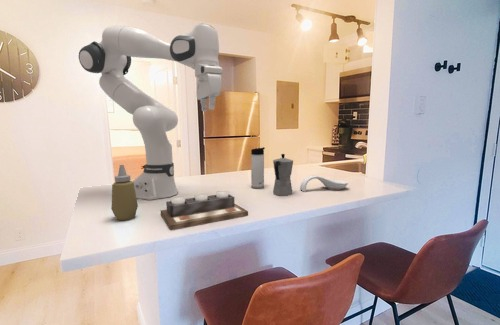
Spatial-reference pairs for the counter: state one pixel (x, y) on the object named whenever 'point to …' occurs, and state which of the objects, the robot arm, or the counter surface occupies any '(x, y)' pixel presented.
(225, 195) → the button right
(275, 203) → the counter surface
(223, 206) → the button board
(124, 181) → the squeeze bottle
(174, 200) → the button left
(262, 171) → the travel mug
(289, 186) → the coffeepot
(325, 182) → the spoon rest
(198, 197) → the button middle
